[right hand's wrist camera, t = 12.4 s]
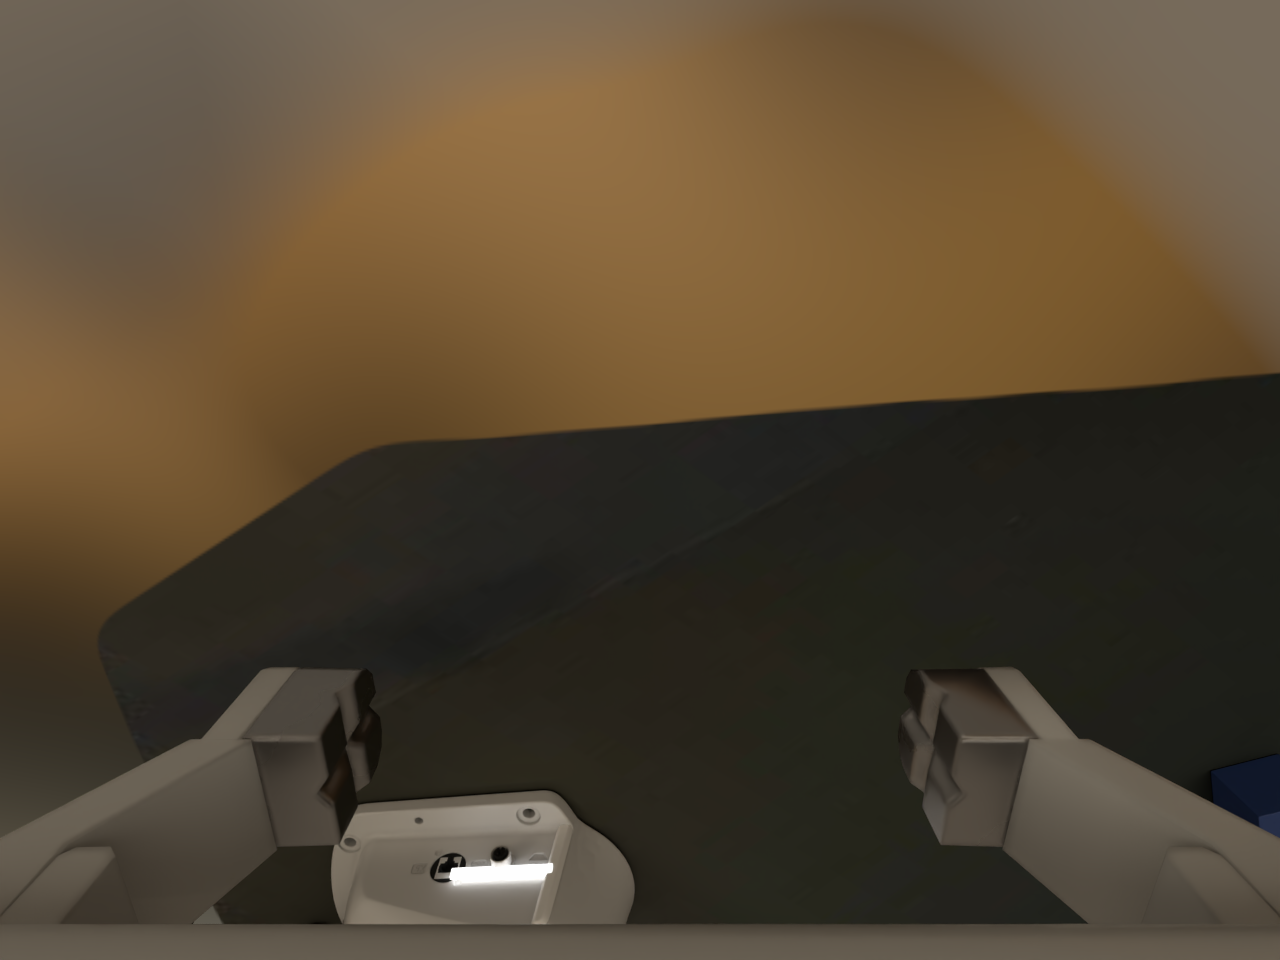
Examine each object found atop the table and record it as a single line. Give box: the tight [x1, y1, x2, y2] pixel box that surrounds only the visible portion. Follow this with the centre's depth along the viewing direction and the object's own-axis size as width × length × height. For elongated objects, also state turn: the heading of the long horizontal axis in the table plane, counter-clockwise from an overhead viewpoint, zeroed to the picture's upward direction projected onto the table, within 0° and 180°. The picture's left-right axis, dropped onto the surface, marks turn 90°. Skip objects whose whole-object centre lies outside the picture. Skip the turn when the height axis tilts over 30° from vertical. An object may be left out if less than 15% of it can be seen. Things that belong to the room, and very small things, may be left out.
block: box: [1211, 754, 1280, 838], centre depth 47 cm, size 5×4×4 cm
